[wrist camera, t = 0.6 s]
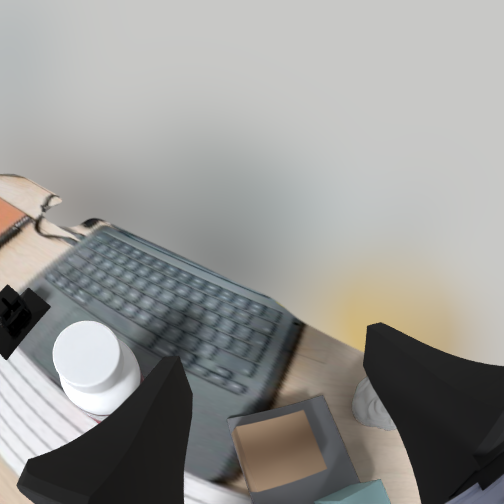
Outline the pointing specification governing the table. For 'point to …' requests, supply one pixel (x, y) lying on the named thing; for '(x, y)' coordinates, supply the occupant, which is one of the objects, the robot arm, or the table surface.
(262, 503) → the mat
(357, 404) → the grey rounded lumpy piece
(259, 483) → the walnut slab
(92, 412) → the pill bottle
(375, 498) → the teal block
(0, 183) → the table surface
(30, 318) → the black bracket
